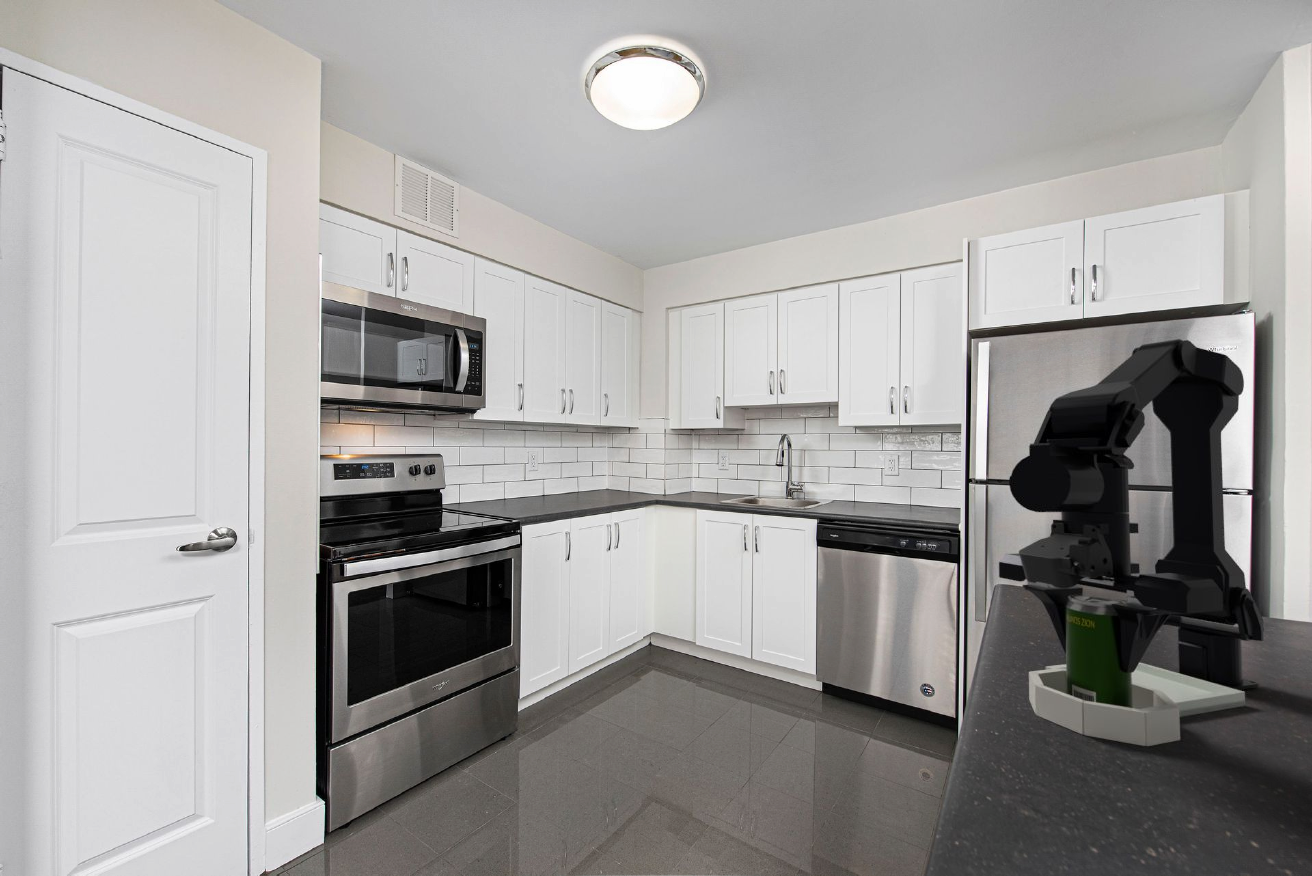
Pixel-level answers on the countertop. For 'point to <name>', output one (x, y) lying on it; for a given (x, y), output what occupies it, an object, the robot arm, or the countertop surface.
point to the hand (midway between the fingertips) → (1097, 663)
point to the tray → (1185, 690)
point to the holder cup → (1106, 711)
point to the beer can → (1095, 652)
